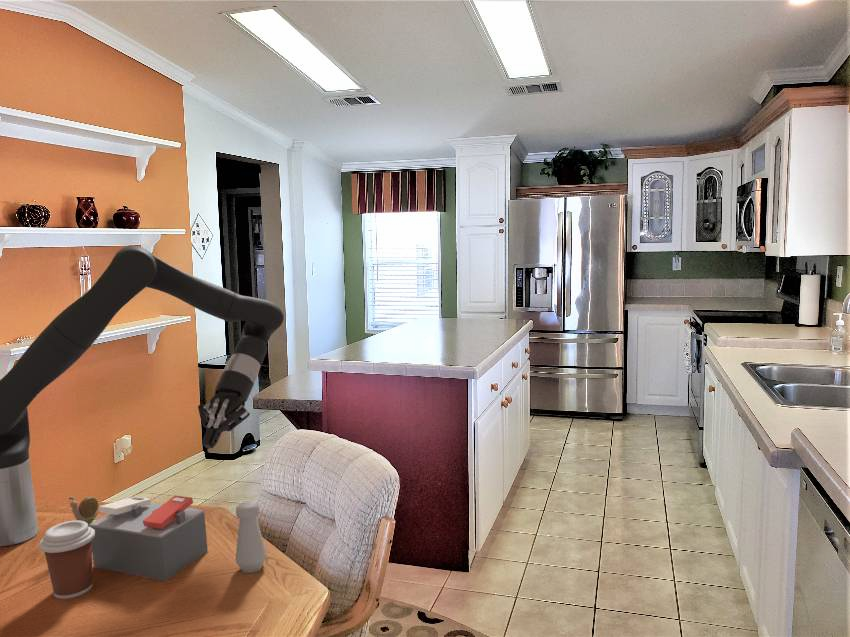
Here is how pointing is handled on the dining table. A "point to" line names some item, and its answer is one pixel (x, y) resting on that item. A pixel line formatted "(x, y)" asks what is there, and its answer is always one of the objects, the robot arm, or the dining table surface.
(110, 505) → the white rocker
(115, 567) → the switch box
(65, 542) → the coffee cup
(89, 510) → the snail figurine
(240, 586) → the dining table surface
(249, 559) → the salt shaker
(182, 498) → the red rocker
